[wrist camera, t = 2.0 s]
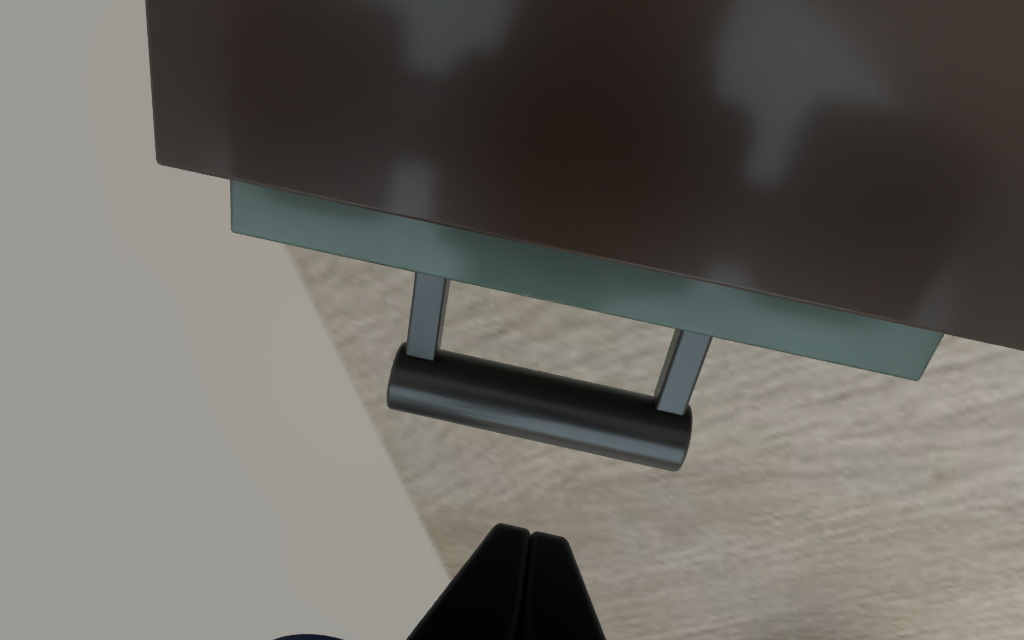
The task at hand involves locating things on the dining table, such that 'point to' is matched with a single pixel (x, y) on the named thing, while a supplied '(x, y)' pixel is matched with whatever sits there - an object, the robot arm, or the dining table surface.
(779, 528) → the dining table surface
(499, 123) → the cabinet
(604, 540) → the dining table surface
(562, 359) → the dining table surface
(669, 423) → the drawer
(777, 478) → the dining table surface
